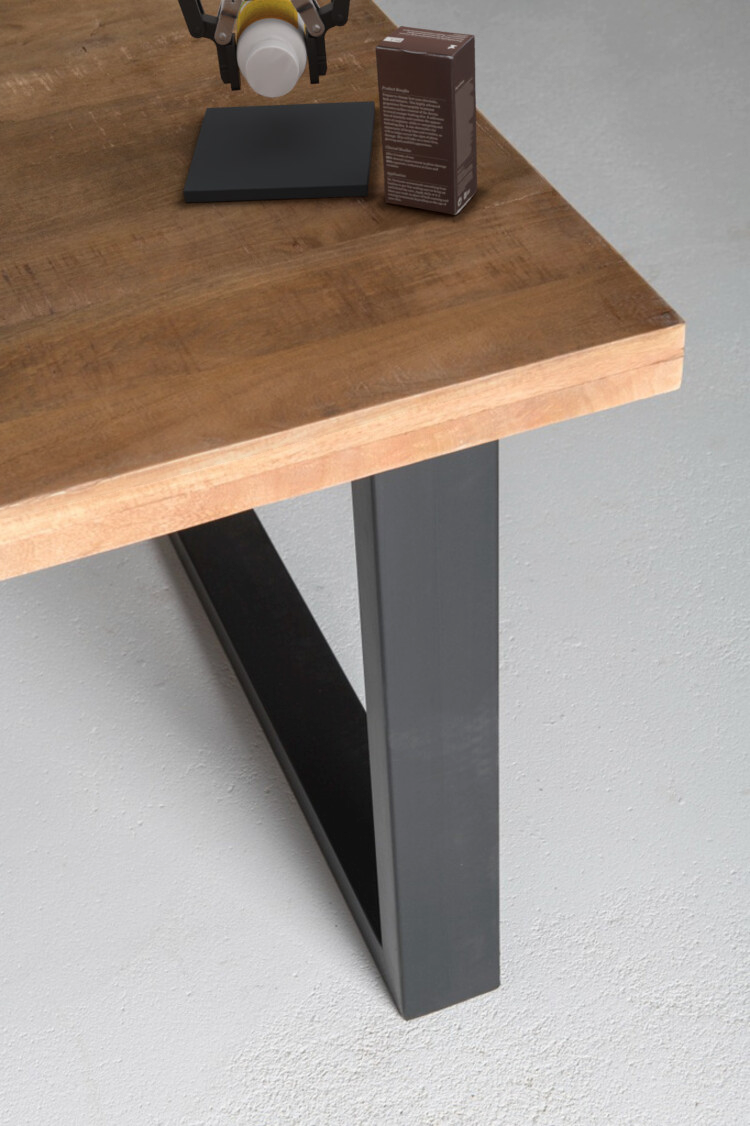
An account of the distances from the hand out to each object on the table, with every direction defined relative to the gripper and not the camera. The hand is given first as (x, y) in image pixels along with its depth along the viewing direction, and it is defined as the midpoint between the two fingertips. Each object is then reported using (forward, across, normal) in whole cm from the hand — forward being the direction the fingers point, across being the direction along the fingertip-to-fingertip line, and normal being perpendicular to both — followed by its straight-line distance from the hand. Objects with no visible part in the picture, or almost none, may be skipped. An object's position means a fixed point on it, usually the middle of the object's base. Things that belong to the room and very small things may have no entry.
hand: (275, 82), depth 108 cm
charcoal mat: (+6, 0, 0) cm, 6 cm away
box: (+6, +11, -9) cm, 15 cm away
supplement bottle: (-2, 0, +6) cm, 7 cm away
